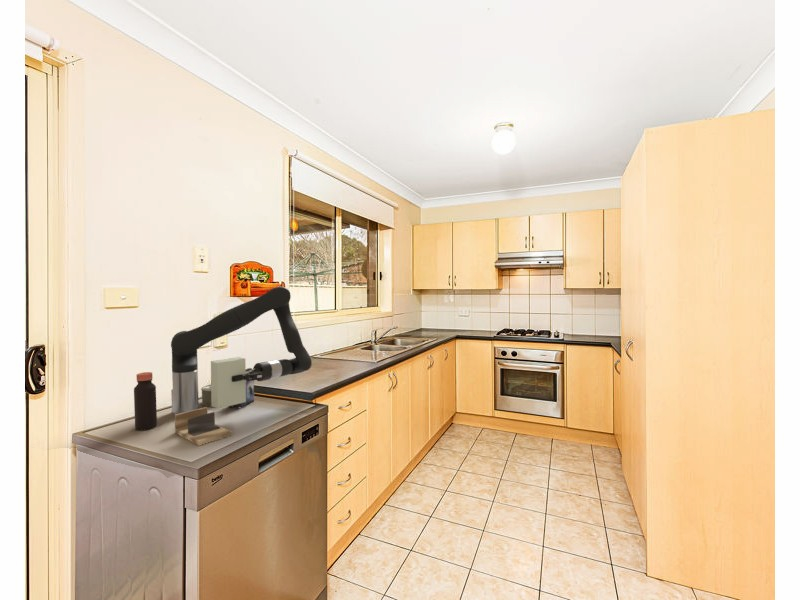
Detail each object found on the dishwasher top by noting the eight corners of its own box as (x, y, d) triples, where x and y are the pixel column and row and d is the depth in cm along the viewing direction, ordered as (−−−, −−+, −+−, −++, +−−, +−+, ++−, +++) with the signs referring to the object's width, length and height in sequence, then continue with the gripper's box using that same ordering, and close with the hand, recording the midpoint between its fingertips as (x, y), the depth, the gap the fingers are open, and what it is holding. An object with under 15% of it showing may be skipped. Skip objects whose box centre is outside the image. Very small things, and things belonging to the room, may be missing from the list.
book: (211, 406, 148) (210, 361, 147) (239, 399, 157) (238, 357, 156) (218, 408, 145) (217, 362, 144) (245, 401, 154) (245, 358, 153)
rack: (175, 432, 140) (174, 414, 140) (206, 424, 149) (206, 407, 148) (198, 445, 129) (198, 426, 129) (230, 435, 137) (230, 417, 137)
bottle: (161, 425, 148) (159, 372, 147) (144, 431, 141) (142, 376, 141) (147, 423, 150) (145, 371, 149) (130, 429, 143) (128, 375, 143)
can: (227, 405, 172) (226, 389, 171) (197, 406, 170) (197, 391, 169) (234, 397, 183) (233, 382, 183) (206, 398, 182) (206, 384, 181)
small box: (241, 408, 167) (240, 383, 167) (227, 407, 169) (226, 383, 168) (255, 401, 178) (254, 377, 177) (242, 400, 179) (241, 377, 179)
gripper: (258, 359, 168) (218, 365, 155) (278, 363, 159) (238, 370, 146) (258, 376, 168) (219, 384, 155) (278, 382, 159) (238, 391, 146)
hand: (228, 378), depth 150 cm, fingers closed on book, 5 cm apart
